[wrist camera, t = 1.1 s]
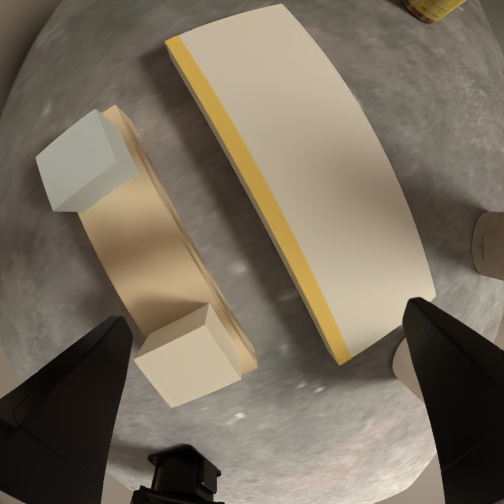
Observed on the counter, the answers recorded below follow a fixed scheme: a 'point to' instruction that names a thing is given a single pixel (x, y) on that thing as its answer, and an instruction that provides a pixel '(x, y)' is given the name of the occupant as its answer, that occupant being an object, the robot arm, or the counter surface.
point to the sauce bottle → (431, 8)
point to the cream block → (190, 357)
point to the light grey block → (85, 164)
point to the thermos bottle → (489, 245)
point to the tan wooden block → (154, 252)
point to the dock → (309, 172)
